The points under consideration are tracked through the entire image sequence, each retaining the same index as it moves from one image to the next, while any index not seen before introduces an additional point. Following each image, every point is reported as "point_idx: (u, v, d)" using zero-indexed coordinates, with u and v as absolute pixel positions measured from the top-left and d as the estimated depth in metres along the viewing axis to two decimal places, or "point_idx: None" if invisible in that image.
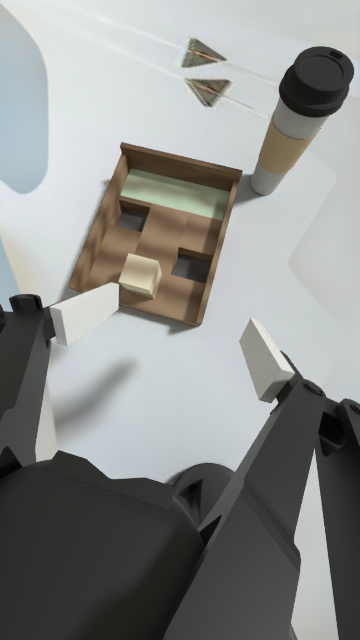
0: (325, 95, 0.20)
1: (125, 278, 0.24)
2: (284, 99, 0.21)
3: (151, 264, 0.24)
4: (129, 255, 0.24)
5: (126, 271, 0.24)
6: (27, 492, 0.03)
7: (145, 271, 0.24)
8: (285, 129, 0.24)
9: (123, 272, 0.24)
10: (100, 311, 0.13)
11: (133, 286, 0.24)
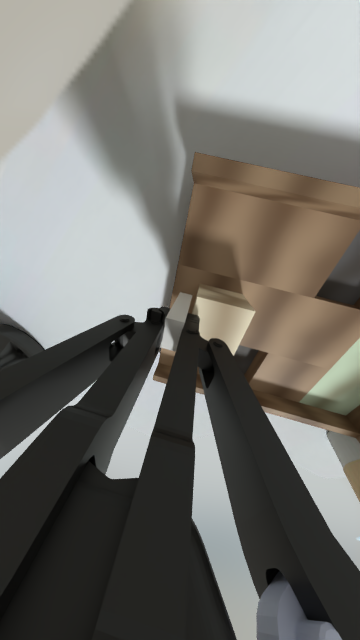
0: None
1: (203, 308, 0.13)
2: None
3: None
4: (250, 313, 0.13)
5: (218, 309, 0.13)
6: (27, 492, 0.03)
7: None
8: None
9: (215, 304, 0.13)
10: None
11: None
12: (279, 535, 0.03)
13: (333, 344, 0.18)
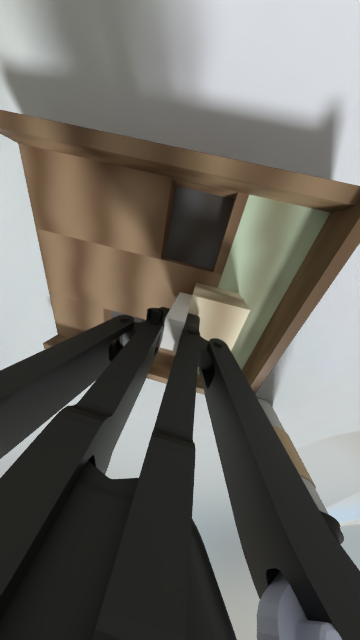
0: None
1: (198, 307, 0.13)
2: None
3: None
4: (245, 311, 0.13)
5: (213, 308, 0.13)
6: (27, 492, 0.03)
7: (211, 337, 0.14)
8: None
9: (210, 303, 0.13)
10: None
11: None
12: (279, 535, 0.03)
13: None
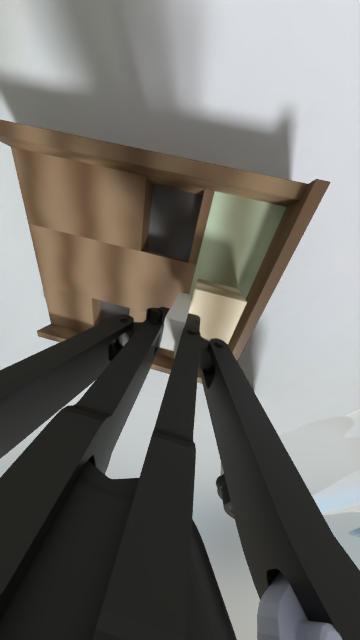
0: (223, 502, 0.17)
1: (200, 299, 0.15)
2: None
3: (222, 335, 0.16)
4: (242, 303, 0.14)
5: (213, 300, 0.14)
6: (27, 492, 0.03)
7: (211, 328, 0.16)
8: None
9: (210, 295, 0.14)
10: None
11: (189, 309, 0.16)
12: (280, 536, 0.03)
13: (174, 296, 0.20)
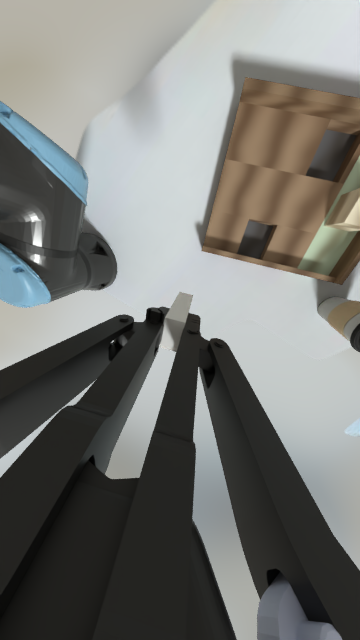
0: None
1: None
2: None
3: None
4: None
5: None
6: (27, 492, 0.03)
7: None
8: (359, 315, 0.29)
9: None
10: None
11: (353, 204, 0.25)
12: (280, 536, 0.03)
13: (317, 211, 0.29)
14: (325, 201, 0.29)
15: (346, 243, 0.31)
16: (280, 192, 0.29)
